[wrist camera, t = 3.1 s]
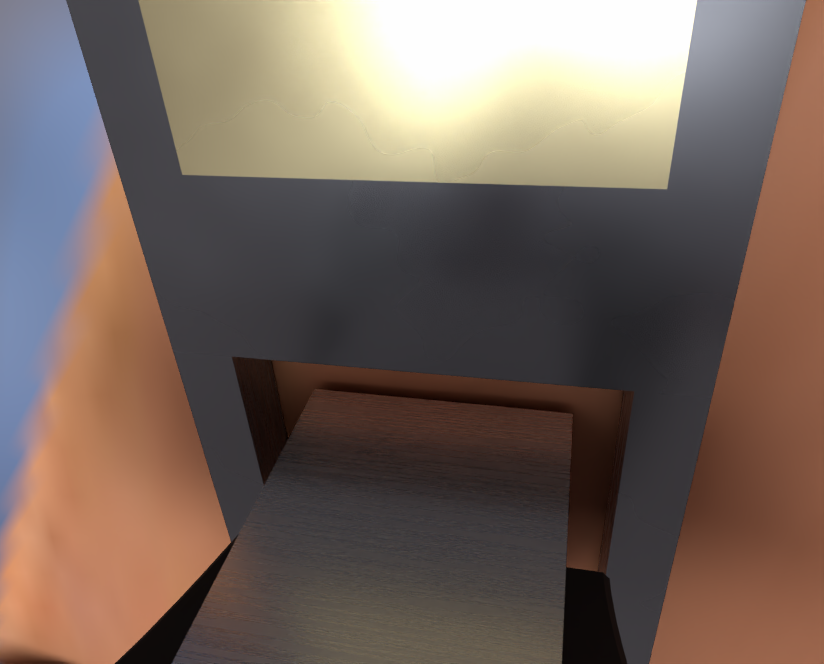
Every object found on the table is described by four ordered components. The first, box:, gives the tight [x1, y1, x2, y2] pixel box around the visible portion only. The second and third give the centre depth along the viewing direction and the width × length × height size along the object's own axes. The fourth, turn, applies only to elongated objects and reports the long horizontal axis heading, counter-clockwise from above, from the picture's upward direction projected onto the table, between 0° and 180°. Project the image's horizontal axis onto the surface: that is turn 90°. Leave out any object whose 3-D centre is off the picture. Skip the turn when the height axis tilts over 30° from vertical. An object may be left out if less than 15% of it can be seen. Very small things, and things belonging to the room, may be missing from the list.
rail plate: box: [66, 0, 806, 664], centre depth 11 cm, size 8×22×1 cm, turn 4°
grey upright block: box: [172, 389, 573, 664], centre depth 10 cm, size 4×4×6 cm
